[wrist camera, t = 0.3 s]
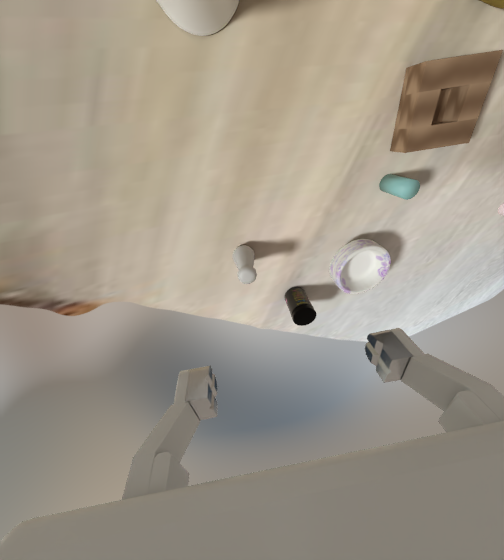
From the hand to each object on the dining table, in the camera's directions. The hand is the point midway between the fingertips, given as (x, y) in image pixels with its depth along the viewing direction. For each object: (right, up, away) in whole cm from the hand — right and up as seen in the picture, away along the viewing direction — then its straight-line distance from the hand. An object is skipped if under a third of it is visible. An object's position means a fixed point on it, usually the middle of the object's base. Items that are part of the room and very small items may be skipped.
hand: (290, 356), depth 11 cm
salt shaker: (-4, +12, +49) cm, 51 cm away
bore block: (+36, +40, +35) cm, 64 cm away
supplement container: (+12, -1, +60) cm, 61 cm away
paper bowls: (+27, +11, +54) cm, 62 cm away
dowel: (+32, +28, +43) cm, 60 cm away
